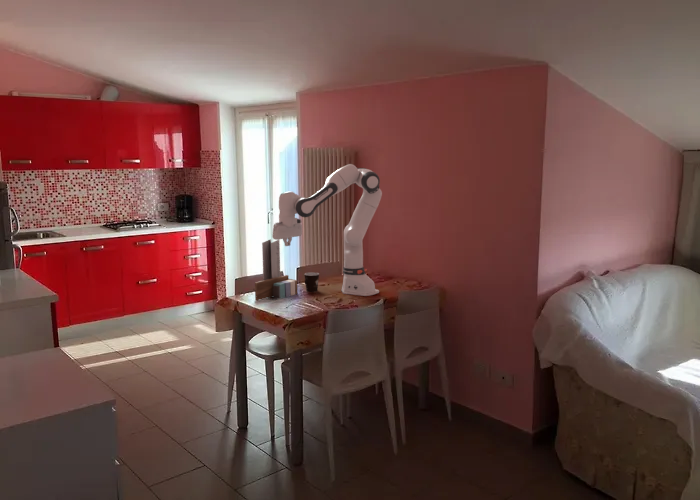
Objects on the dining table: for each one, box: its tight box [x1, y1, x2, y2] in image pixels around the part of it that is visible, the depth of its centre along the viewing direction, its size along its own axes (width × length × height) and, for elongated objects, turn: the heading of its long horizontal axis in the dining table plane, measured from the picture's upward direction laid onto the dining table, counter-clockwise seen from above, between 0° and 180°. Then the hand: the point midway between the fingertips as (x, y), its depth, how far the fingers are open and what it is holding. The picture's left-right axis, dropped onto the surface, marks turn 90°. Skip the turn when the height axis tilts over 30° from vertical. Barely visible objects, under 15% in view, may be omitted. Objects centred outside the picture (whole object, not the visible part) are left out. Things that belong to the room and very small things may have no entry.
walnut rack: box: [254, 274, 299, 301], centre depth 333 cm, size 8×25×10 cm, turn 142°
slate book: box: [279, 281, 291, 298], centre depth 336 cm, size 5×4×8 cm
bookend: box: [267, 285, 280, 301], centre depth 329 cm, size 5×5×7 cm
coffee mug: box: [304, 272, 320, 293], centre depth 347 cm, size 12×9×10 cm
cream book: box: [286, 279, 296, 297], centre depth 339 cm, size 5×4×8 cm
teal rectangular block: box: [274, 282, 286, 300], centre depth 332 cm, size 5×4×8 cm
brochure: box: [261, 238, 281, 281], centre depth 343 cm, size 14×6×30 cm, turn 168°
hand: (287, 245), depth 329 cm, fingers closed
